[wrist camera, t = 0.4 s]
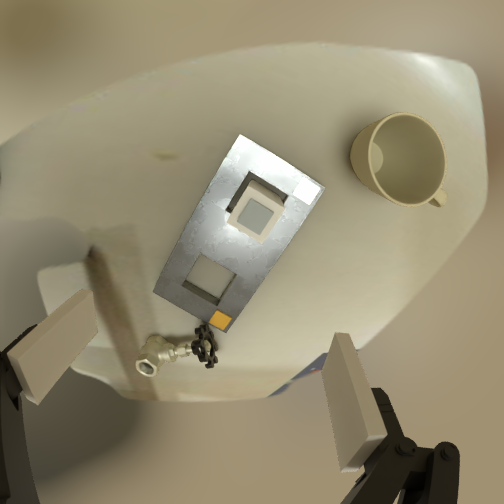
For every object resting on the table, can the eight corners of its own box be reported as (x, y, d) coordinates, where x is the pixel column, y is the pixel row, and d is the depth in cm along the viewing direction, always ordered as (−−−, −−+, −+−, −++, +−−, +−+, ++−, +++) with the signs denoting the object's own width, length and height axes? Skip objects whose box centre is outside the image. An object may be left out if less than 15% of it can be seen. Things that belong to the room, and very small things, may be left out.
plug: (235, 205, 36) (224, 224, 26) (252, 178, 35) (247, 186, 24) (262, 221, 37) (262, 247, 26) (279, 195, 35) (286, 210, 25)
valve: (157, 359, 45) (220, 349, 43) (145, 385, 39) (214, 376, 37) (139, 329, 43) (205, 315, 41) (124, 353, 37) (196, 341, 35)
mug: (338, 200, 35) (372, 220, 24) (330, 124, 32) (362, 110, 21) (410, 195, 34) (461, 212, 23) (405, 125, 31) (456, 117, 20)
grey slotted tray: (157, 285, 40) (151, 292, 38) (241, 135, 33) (239, 134, 31) (227, 325, 42) (225, 334, 39) (322, 186, 35) (326, 188, 33)
